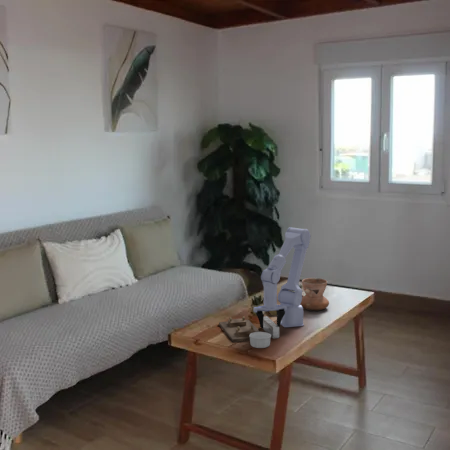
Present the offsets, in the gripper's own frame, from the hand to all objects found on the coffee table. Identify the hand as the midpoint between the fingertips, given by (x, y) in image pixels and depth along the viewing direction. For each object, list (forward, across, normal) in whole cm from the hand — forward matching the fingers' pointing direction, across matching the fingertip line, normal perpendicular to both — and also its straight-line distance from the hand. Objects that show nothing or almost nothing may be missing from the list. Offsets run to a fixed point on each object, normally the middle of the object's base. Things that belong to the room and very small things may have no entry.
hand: (270, 326), depth 264 cm
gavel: (+3, +10, +33) cm, 35 cm away
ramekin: (+3, -9, -14) cm, 17 cm away
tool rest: (+2, -12, +4) cm, 13 cm away
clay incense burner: (+3, +33, +29) cm, 44 cm away
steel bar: (+3, 0, 0) cm, 3 cm away
